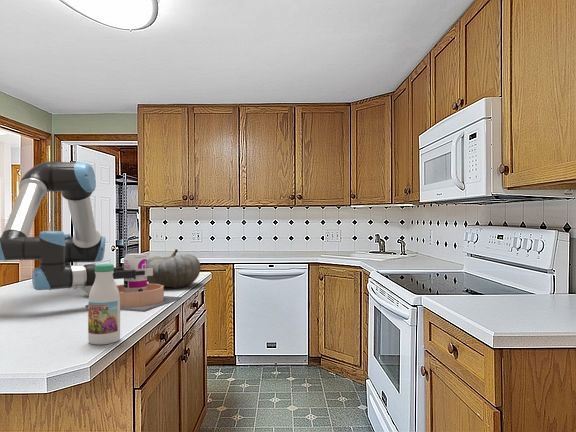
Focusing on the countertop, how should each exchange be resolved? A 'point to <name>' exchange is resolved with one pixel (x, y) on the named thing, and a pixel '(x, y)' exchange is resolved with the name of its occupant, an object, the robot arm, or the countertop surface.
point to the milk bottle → (104, 307)
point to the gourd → (173, 270)
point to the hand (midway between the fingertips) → (148, 270)
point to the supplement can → (133, 263)
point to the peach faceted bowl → (144, 298)
